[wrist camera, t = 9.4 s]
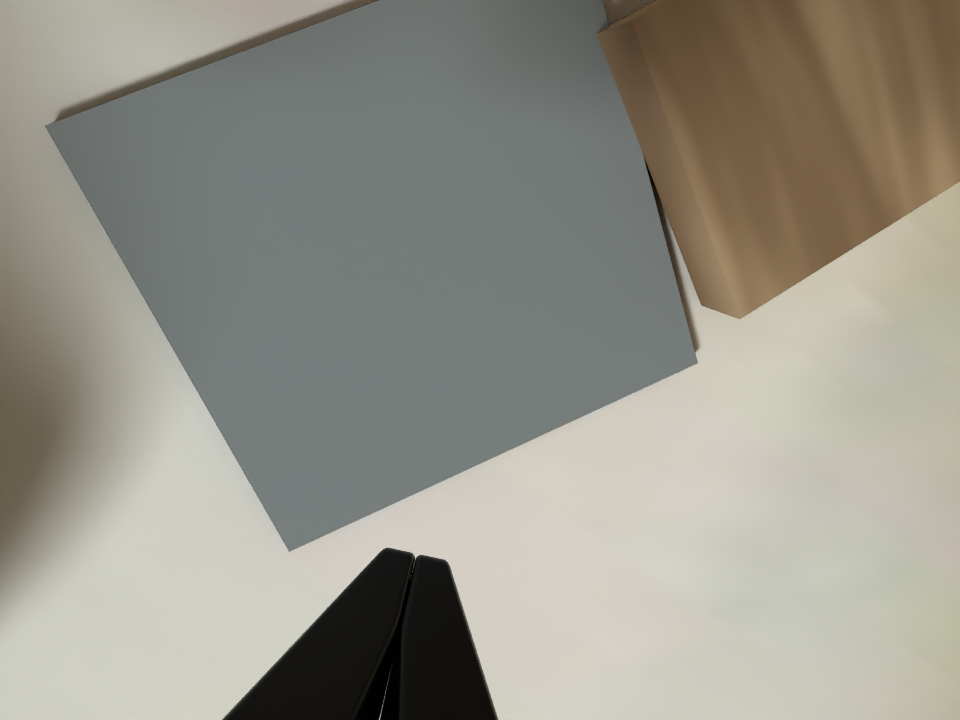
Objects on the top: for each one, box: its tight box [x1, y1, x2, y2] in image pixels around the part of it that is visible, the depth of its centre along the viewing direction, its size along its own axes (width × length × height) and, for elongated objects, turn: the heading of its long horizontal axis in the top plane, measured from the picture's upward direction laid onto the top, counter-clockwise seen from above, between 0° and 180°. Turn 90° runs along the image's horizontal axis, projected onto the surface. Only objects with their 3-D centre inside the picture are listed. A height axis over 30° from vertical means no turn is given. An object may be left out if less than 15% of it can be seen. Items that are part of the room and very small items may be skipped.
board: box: [597, 0, 960, 319], centre depth 19 cm, size 2×8×9 cm
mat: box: [45, 0, 698, 552], centre depth 18 cm, size 13×12×1 cm
